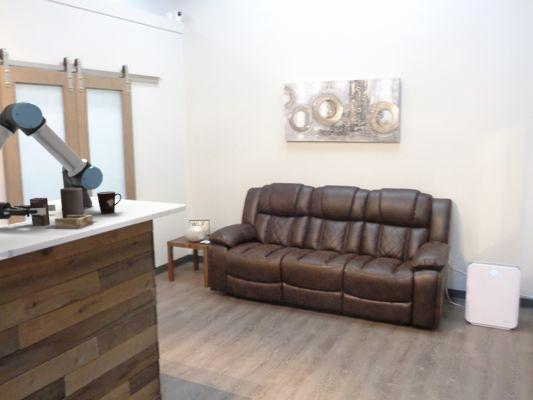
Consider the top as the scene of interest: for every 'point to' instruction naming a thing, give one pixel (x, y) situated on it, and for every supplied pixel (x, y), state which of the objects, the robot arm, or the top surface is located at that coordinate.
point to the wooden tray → (74, 221)
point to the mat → (66, 227)
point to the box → (40, 219)
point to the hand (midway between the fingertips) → (50, 209)
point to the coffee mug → (107, 202)
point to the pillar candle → (71, 201)
